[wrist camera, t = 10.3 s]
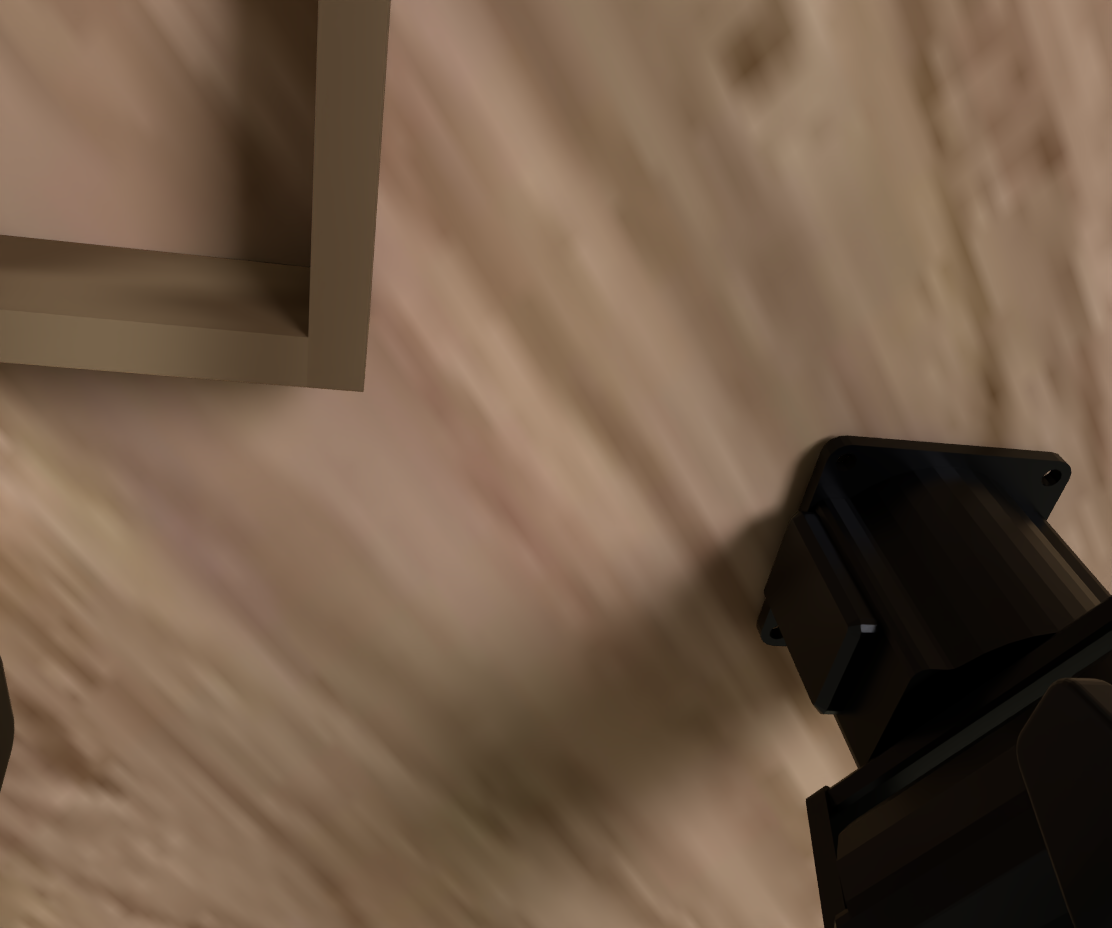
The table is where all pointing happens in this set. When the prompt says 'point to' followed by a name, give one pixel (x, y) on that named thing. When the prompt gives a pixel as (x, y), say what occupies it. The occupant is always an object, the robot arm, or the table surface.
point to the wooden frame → (229, 262)
